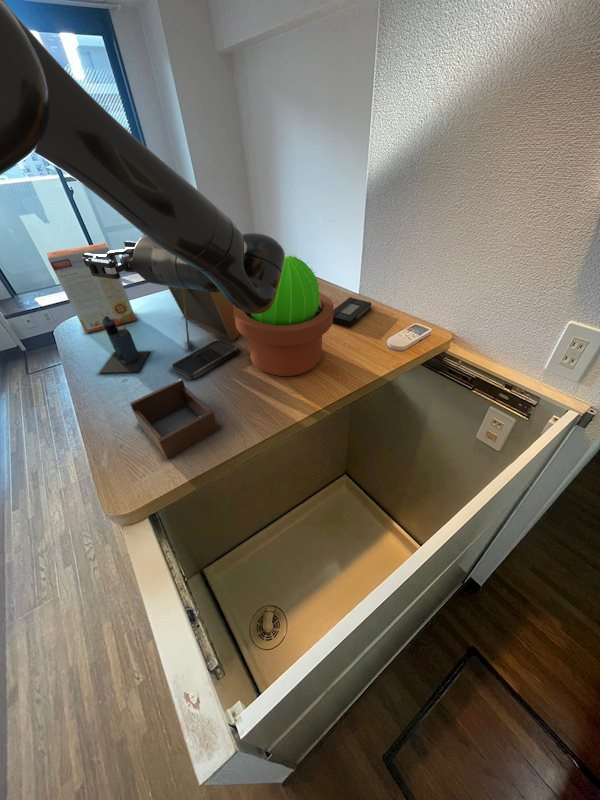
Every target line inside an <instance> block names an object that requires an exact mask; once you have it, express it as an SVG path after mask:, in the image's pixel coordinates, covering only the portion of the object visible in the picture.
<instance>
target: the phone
mask: <svg viewBox="0 0 600 800" xmlns="http://www.w3.org/2000/svg"><path fill="white" fill-rule="evenodd" d="M237 354H238V349H237V347H236V346H234V345H232V344H229V343H227V342H225V341H223V340H221V339H217V340H213V341H212V342H211V343H208V344H206V345H205V346H202V347H201V348H200V349H198V350H196V351H194V352H192V353H190V354H188V355H186V356H184V357H183V358H181V359H179V360H177V361H176V362H174V363H173V364H171V365H172V369H173V371H174V372H176V373H178V374H179V375H182V377H185V378H186V379H188V380H196V379H197V378H199V377H201V376H202V375H204V374H206V373H207V372H209V371H211V370H212V369H214V368H216V367H217V366H219V365H220V364H222V363H224V362H226V361H227V360H229V359H231V358H232V357H233V356H234V357H235V355H237Z"/></svg>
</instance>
